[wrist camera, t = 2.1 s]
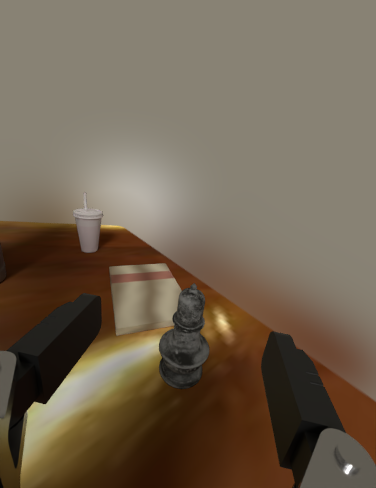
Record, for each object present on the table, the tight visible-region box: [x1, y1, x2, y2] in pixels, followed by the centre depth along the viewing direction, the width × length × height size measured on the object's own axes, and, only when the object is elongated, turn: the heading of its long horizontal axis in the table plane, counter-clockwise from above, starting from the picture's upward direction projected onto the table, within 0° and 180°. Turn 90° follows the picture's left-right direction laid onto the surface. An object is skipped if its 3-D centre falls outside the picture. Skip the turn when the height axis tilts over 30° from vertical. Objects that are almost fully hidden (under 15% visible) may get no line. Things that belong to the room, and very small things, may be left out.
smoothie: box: [73, 192, 103, 253], centre depth 51 cm, size 6×6×14 cm
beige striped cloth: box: [109, 264, 182, 336], centre depth 39 cm, size 12×18×1 cm, turn 21°
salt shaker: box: [159, 283, 209, 389], centre depth 24 cm, size 6×6×12 cm
